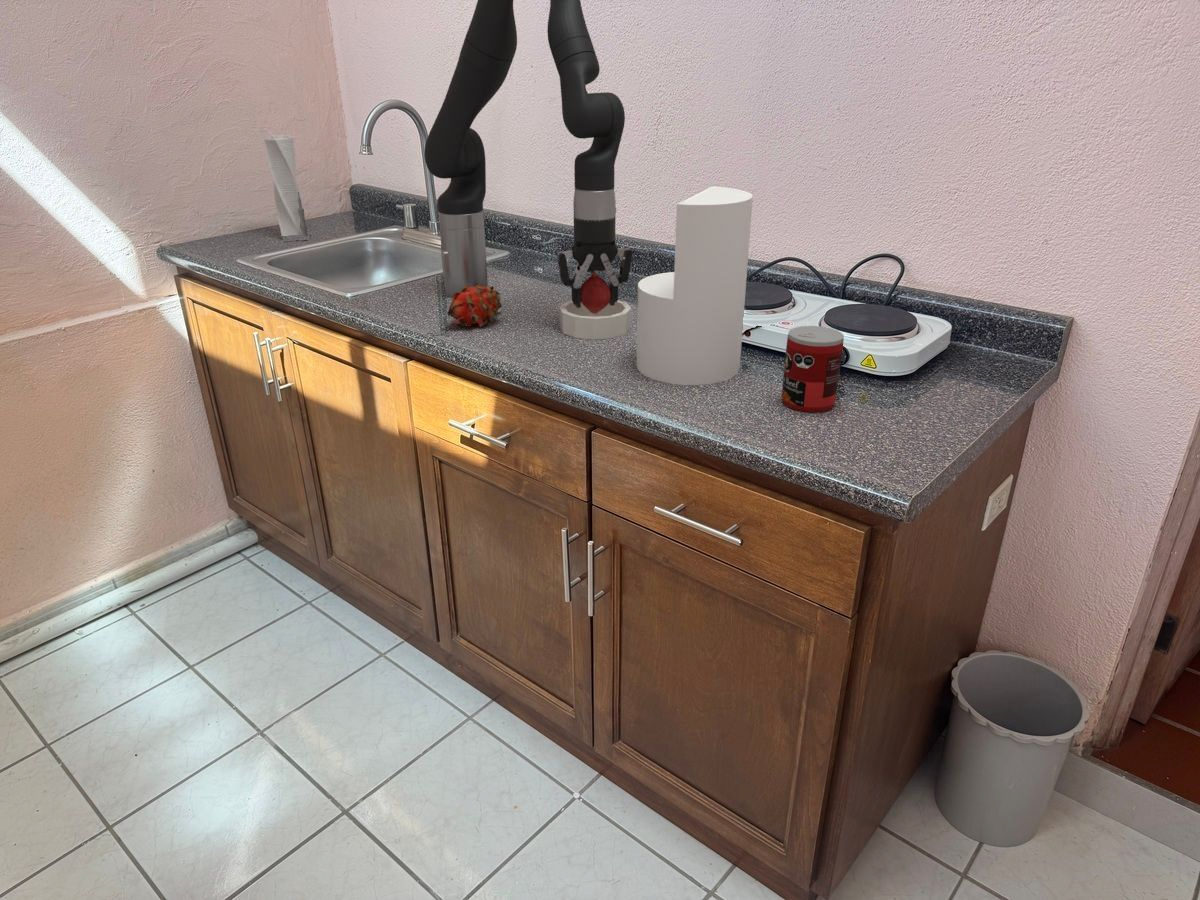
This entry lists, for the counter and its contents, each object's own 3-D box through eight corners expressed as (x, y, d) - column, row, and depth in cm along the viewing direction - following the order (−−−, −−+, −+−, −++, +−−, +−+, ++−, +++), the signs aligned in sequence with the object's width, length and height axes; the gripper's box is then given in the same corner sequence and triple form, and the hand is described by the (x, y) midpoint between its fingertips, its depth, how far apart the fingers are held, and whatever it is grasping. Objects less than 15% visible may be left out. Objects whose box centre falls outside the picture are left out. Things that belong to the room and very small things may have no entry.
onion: (614, 310, 160) (614, 269, 156) (604, 319, 155) (604, 276, 152) (585, 307, 162) (585, 266, 158) (575, 316, 157) (574, 274, 153)
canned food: (775, 394, 131) (781, 326, 126) (825, 392, 131) (834, 324, 126) (789, 414, 124) (796, 343, 119) (842, 412, 124) (851, 341, 119)
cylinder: (751, 356, 146) (765, 189, 133) (722, 392, 131) (734, 208, 119) (657, 343, 152) (662, 182, 139) (620, 375, 138) (622, 199, 125)
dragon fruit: (507, 326, 166) (456, 348, 160) (484, 295, 168) (432, 315, 162) (516, 299, 159) (462, 320, 153) (491, 266, 161) (437, 286, 155)
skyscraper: (276, 242, 225) (257, 130, 213) (280, 235, 233) (261, 127, 220) (309, 240, 227) (291, 130, 214) (311, 234, 234) (295, 126, 222)
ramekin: (567, 341, 153) (567, 320, 151) (555, 320, 164) (555, 300, 162) (637, 336, 155) (637, 315, 153) (620, 315, 167) (620, 296, 165)
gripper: (628, 208, 155) (627, 297, 162) (551, 211, 152) (553, 302, 160) (638, 216, 148) (636, 309, 156) (558, 220, 146) (560, 314, 153)
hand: (594, 305), depth 158 cm, fingers closed on onion, 6 cm apart
